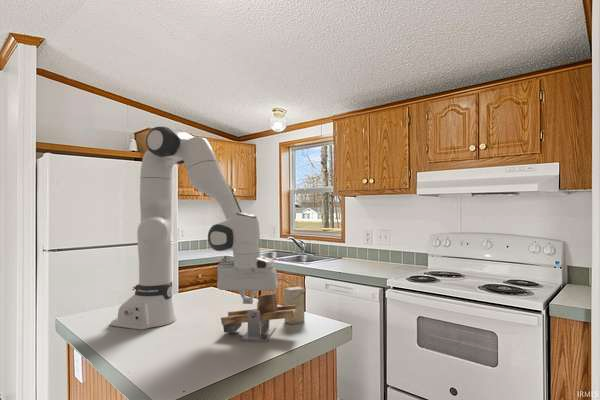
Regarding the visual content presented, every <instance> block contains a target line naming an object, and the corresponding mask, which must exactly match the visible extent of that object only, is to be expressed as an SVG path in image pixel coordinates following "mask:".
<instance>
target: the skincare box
mask: <svg viewBox="0 0 600 400" xmlns="http://www.w3.org/2000/svg"><path fill="white" fill-rule="evenodd" d="M288 305H297V313H296V314H295V316H294V317H293V318H284V323H287V324H289V325H293V324H300V323H304V322H305V288H303V287H301V286H292V287H285V288H284V306H288Z"/></svg>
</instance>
